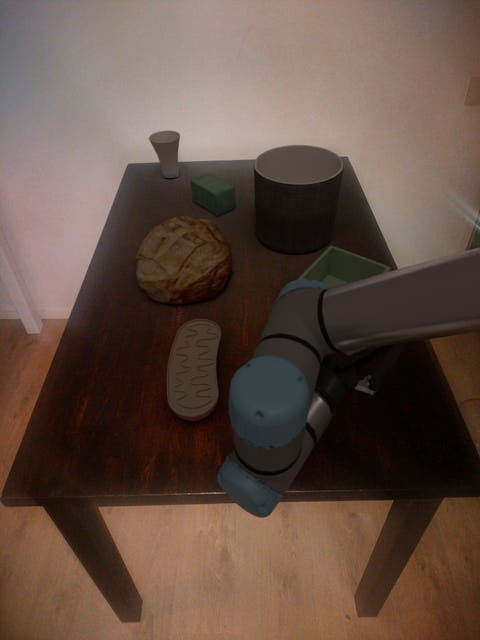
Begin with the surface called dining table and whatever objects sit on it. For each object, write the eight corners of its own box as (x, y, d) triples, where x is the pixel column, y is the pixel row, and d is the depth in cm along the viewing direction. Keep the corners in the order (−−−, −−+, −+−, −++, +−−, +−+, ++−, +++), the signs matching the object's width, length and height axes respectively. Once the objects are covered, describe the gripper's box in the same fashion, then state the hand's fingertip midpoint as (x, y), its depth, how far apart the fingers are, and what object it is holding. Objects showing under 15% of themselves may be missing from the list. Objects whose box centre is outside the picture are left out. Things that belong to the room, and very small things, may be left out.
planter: (246, 219, 115) (243, 152, 101) (314, 206, 119) (321, 139, 104) (269, 262, 100) (270, 191, 86) (346, 246, 104) (360, 175, 89)
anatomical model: (220, 429, 68) (217, 415, 64) (164, 431, 68) (159, 416, 65) (223, 333, 84) (221, 317, 80) (178, 335, 84) (174, 319, 80)
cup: (186, 180, 135) (180, 141, 125) (156, 183, 134) (148, 144, 124) (185, 167, 142) (179, 129, 132) (157, 170, 141) (149, 132, 131)
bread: (217, 239, 111) (210, 189, 101) (251, 291, 92) (246, 236, 82) (133, 260, 106) (117, 210, 96) (149, 321, 87) (131, 266, 77)
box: (218, 217, 117) (216, 194, 111) (192, 201, 124) (189, 179, 119) (236, 208, 120) (235, 186, 114) (210, 194, 127) (208, 172, 122)
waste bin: (381, 297, 89) (391, 267, 83) (353, 335, 82) (361, 305, 75) (326, 274, 96) (330, 245, 89) (295, 308, 88) (297, 278, 82)
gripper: (249, 382, 58) (323, 296, 70) (372, 454, 49) (431, 342, 61) (248, 351, 52) (328, 263, 65) (385, 426, 44) (447, 309, 56)
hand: (378, 302), depth 63 cm, fingers closed on beverage can, 6 cm apart
